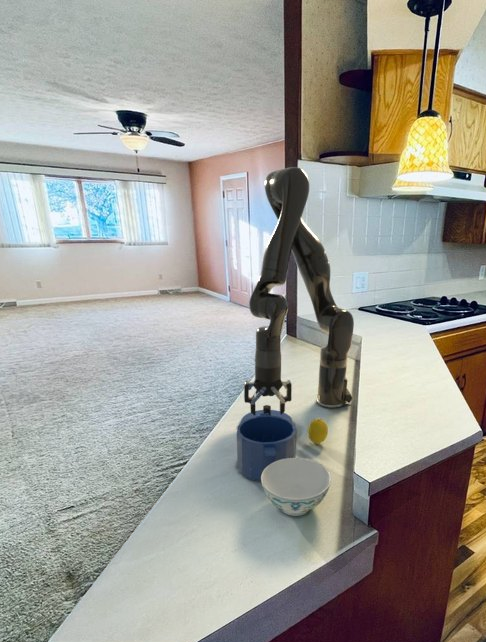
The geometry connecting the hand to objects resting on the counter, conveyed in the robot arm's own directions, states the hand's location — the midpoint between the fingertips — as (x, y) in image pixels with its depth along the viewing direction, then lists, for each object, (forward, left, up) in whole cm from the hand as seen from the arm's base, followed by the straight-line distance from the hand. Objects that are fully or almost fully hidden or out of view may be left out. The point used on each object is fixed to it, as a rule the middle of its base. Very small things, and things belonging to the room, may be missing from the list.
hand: (267, 413), depth 124 cm
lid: (0, 0, -3) cm, 3 cm away
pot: (+2, +22, -4) cm, 22 cm away
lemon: (-13, +13, -4) cm, 19 cm away
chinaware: (-3, +39, -4) cm, 39 cm away
